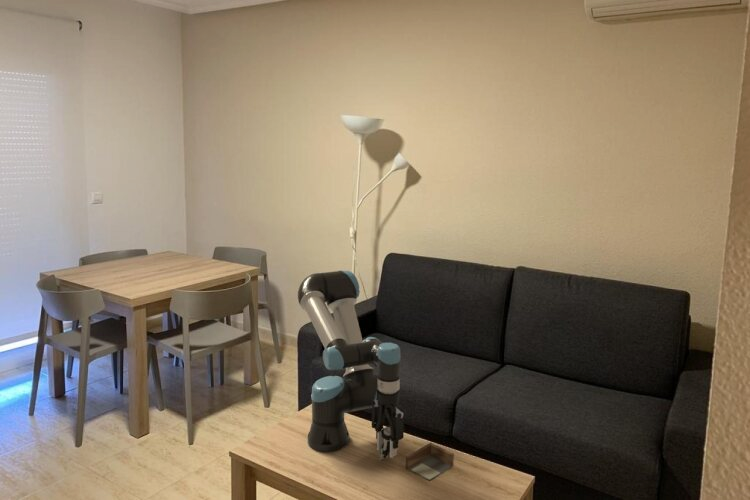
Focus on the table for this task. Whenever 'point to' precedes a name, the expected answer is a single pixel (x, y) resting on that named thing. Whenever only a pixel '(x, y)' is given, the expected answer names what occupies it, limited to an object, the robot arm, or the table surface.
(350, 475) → the table surface
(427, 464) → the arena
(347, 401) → the robot arm
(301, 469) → the table surface
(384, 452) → the push button
